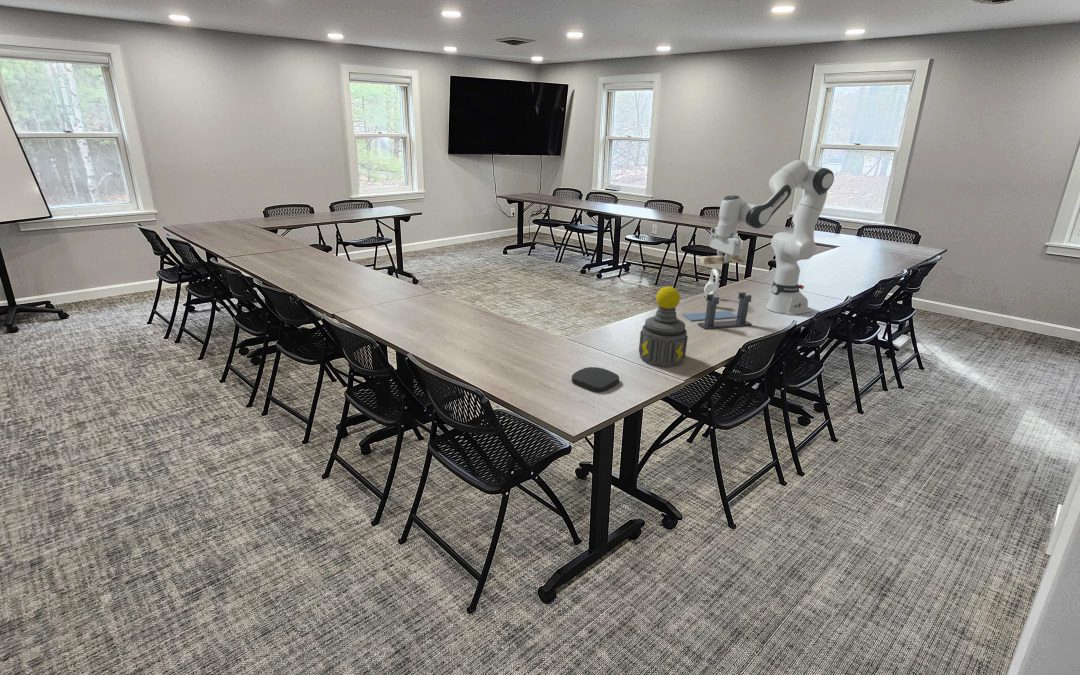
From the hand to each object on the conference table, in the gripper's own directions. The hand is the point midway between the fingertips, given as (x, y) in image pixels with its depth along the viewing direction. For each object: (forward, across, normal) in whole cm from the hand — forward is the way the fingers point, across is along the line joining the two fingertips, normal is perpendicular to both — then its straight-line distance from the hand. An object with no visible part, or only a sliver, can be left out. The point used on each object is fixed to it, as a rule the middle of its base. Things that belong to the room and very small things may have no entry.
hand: (722, 261), depth 266 cm
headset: (+29, +24, -13) cm, 40 cm away
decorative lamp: (+29, -39, +49) cm, 69 cm away
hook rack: (+29, -9, 0) cm, 30 cm away
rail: (+1, 0, 0) cm, 1 cm away
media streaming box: (+29, -53, +83) cm, 103 cm away
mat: (+29, +4, 0) cm, 29 cm away
